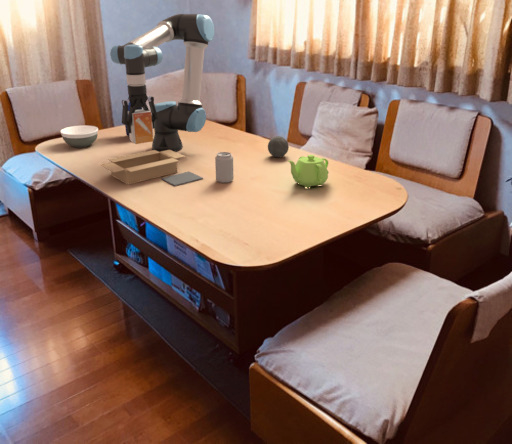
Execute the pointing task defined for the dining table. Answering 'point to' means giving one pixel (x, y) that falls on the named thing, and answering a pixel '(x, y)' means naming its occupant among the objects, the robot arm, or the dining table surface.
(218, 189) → the dining table surface
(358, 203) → the dining table surface
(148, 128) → the small box
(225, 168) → the can
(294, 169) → the teapot
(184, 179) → the mat
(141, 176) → the carton
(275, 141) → the decorative ball
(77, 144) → the bowl
